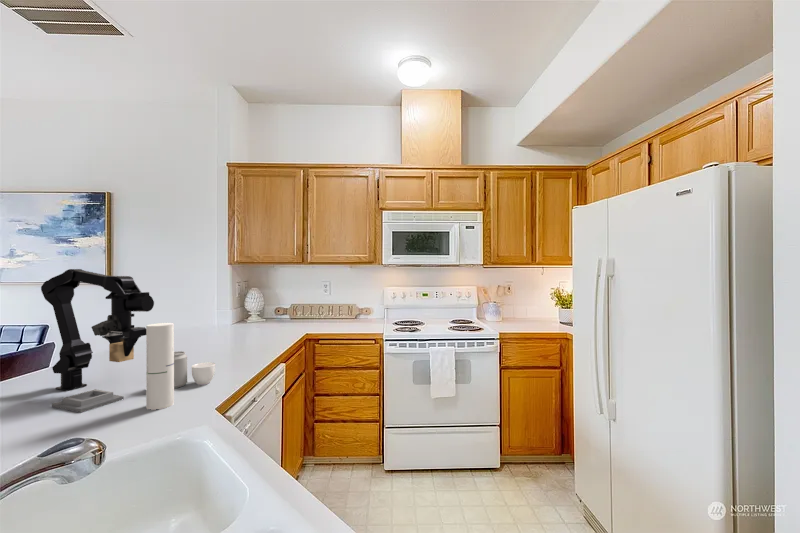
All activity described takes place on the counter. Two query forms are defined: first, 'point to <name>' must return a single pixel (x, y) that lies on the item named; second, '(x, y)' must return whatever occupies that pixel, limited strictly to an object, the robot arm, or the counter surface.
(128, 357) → the oak block
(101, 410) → the counter surface
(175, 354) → the can
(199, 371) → the cup
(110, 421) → the counter surface
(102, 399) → the grey tray
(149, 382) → the cylindrical container
